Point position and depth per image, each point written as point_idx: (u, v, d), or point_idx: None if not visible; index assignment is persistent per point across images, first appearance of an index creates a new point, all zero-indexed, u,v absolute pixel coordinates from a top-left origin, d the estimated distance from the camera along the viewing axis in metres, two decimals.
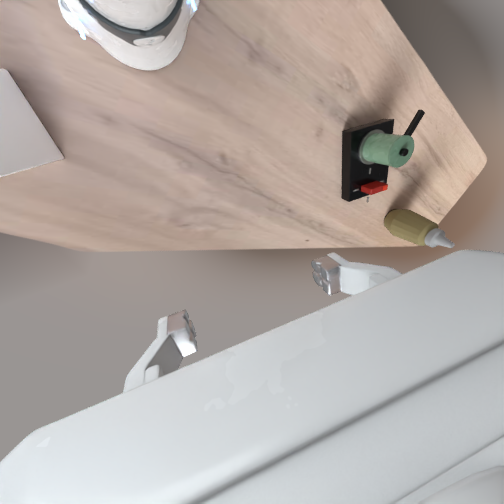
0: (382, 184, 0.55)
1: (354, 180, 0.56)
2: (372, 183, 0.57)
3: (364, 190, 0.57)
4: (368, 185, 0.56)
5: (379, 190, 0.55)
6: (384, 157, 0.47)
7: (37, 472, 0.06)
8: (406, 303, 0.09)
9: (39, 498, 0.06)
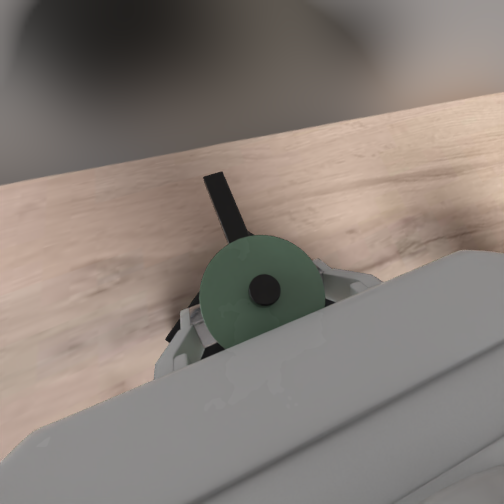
0: None
1: None
2: None
3: None
4: None
5: None
6: None
7: (37, 472, 0.06)
8: (406, 303, 0.09)
9: (39, 499, 0.06)
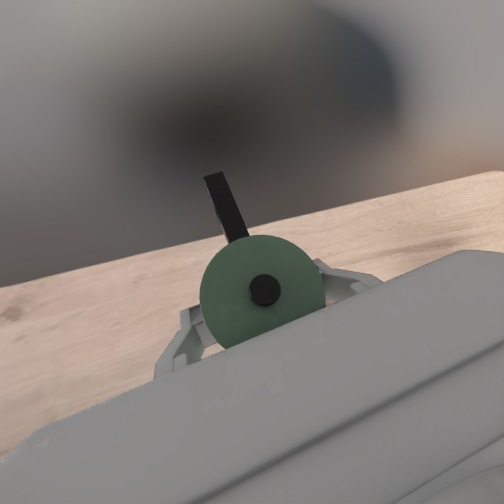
0: None
1: None
2: None
3: None
4: None
5: None
6: None
7: (37, 472, 0.06)
8: (406, 303, 0.09)
9: (39, 499, 0.06)
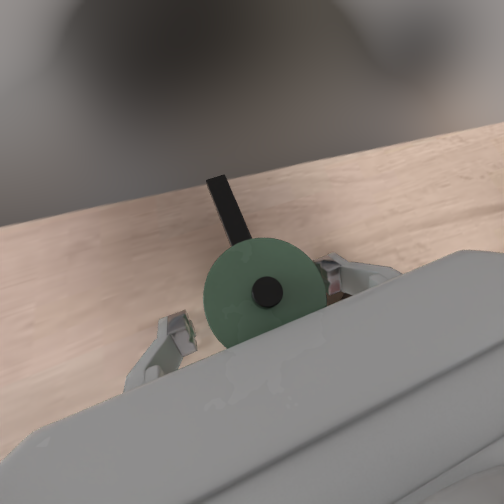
0: None
1: None
2: None
3: None
4: None
5: None
6: None
7: (37, 472, 0.06)
8: (406, 303, 0.09)
9: (39, 499, 0.06)
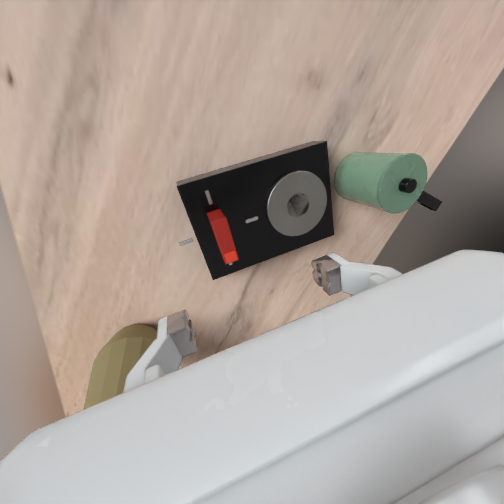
0: None
1: (231, 185, 0.23)
2: None
3: (213, 214, 0.23)
4: None
5: (223, 243, 0.22)
6: (390, 156, 0.24)
7: (37, 472, 0.06)
8: (406, 303, 0.09)
9: (39, 499, 0.06)
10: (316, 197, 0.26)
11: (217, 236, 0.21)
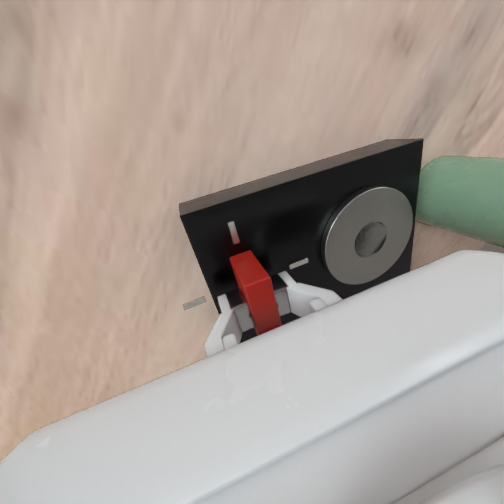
0: None
1: (271, 211, 0.14)
2: None
3: (242, 262, 0.13)
4: None
5: (262, 318, 0.12)
6: None
7: (37, 472, 0.06)
8: (406, 303, 0.09)
9: (39, 499, 0.06)
10: (398, 227, 0.17)
11: (252, 308, 0.12)
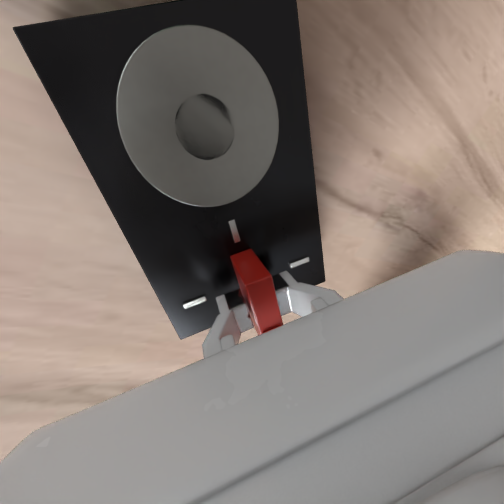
0: None
1: (172, 270, 0.13)
2: None
3: (243, 261, 0.13)
4: None
5: (263, 317, 0.12)
6: None
7: (37, 472, 0.06)
8: (406, 303, 0.09)
9: (39, 499, 0.06)
10: (184, 66, 0.09)
11: (253, 306, 0.12)
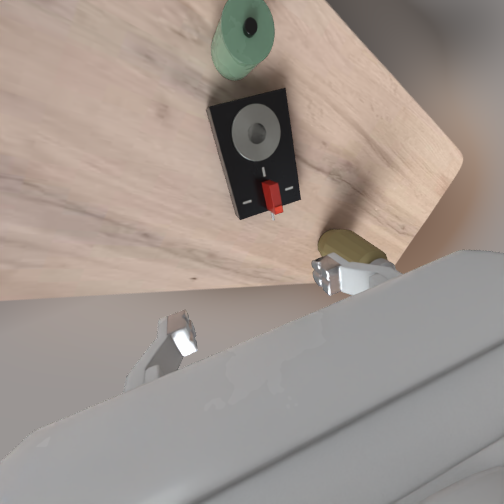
0: None
1: (240, 186, 0.36)
2: None
3: (267, 182, 0.35)
4: None
5: (275, 200, 0.34)
6: (222, 44, 0.26)
7: (37, 472, 0.06)
8: (406, 303, 0.09)
9: (39, 498, 0.06)
10: (252, 115, 0.32)
11: (272, 195, 0.34)
